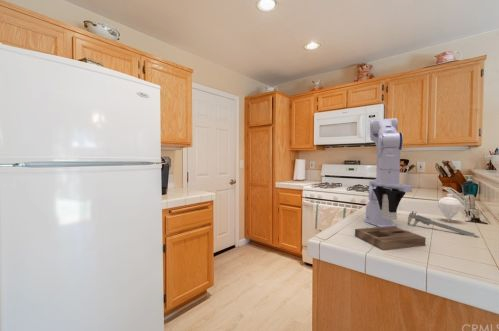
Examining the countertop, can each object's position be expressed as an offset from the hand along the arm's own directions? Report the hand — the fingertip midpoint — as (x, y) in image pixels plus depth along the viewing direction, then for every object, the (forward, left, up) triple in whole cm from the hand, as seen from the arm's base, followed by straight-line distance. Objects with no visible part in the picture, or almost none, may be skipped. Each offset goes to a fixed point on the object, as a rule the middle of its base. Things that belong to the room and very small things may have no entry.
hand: (387, 210), depth 73 cm
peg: (0, 0, -3) cm, 3 cm away
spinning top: (-12, +45, -10) cm, 47 cm away
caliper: (-4, +29, -11) cm, 31 cm away
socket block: (0, +1, -10) cm, 10 cm away
